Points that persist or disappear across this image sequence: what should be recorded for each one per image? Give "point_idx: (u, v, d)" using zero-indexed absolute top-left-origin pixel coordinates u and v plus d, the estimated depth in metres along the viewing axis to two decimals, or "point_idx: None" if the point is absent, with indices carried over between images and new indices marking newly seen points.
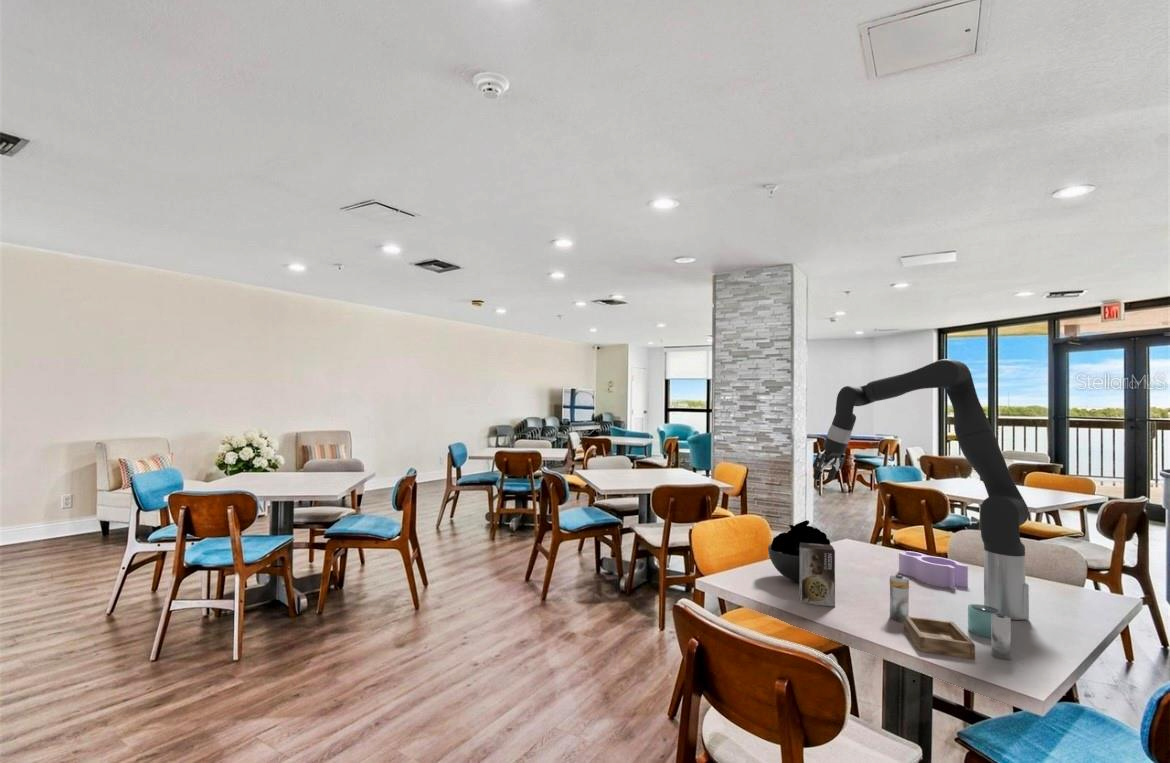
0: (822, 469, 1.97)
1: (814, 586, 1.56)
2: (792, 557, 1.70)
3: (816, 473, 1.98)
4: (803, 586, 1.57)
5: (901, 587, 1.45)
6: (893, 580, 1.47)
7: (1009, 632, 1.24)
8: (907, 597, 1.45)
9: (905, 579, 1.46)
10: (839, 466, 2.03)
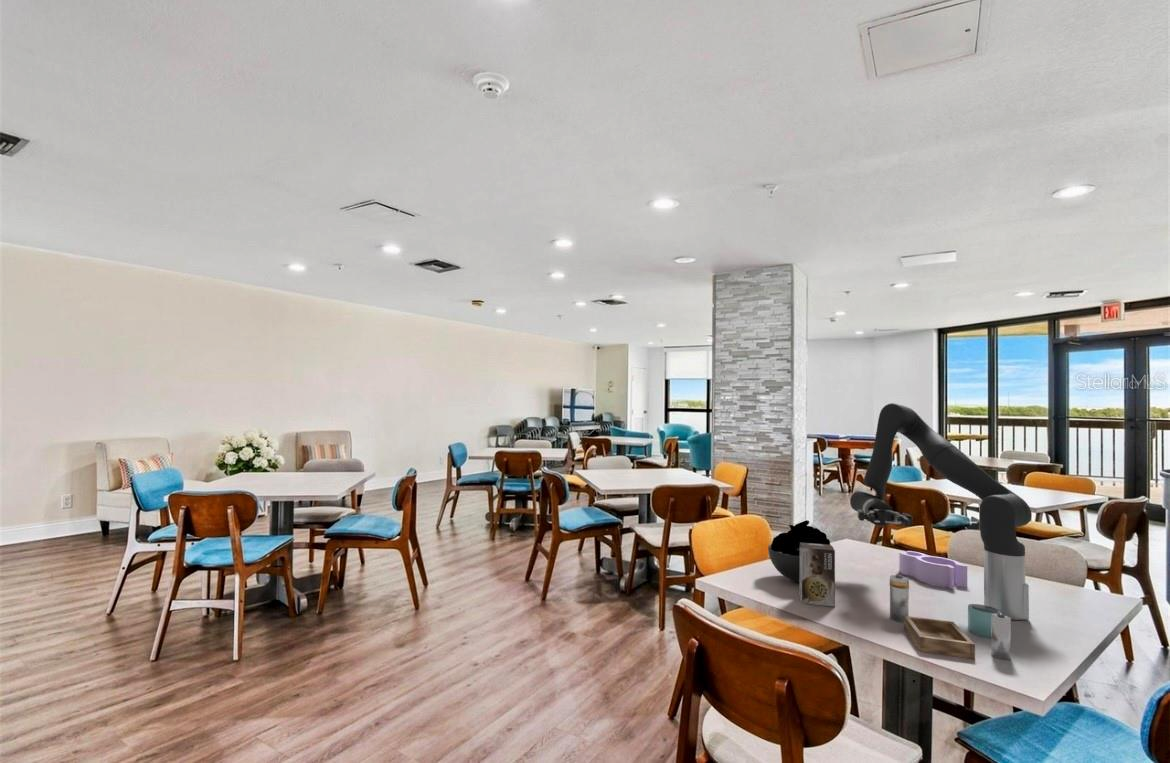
0: (868, 512, 1.65)
1: (814, 586, 1.56)
2: (792, 557, 1.70)
3: (867, 518, 1.63)
4: (803, 586, 1.57)
5: (901, 587, 1.45)
6: (893, 580, 1.47)
7: (1009, 632, 1.24)
8: (907, 597, 1.45)
9: (905, 579, 1.46)
10: (907, 516, 1.62)
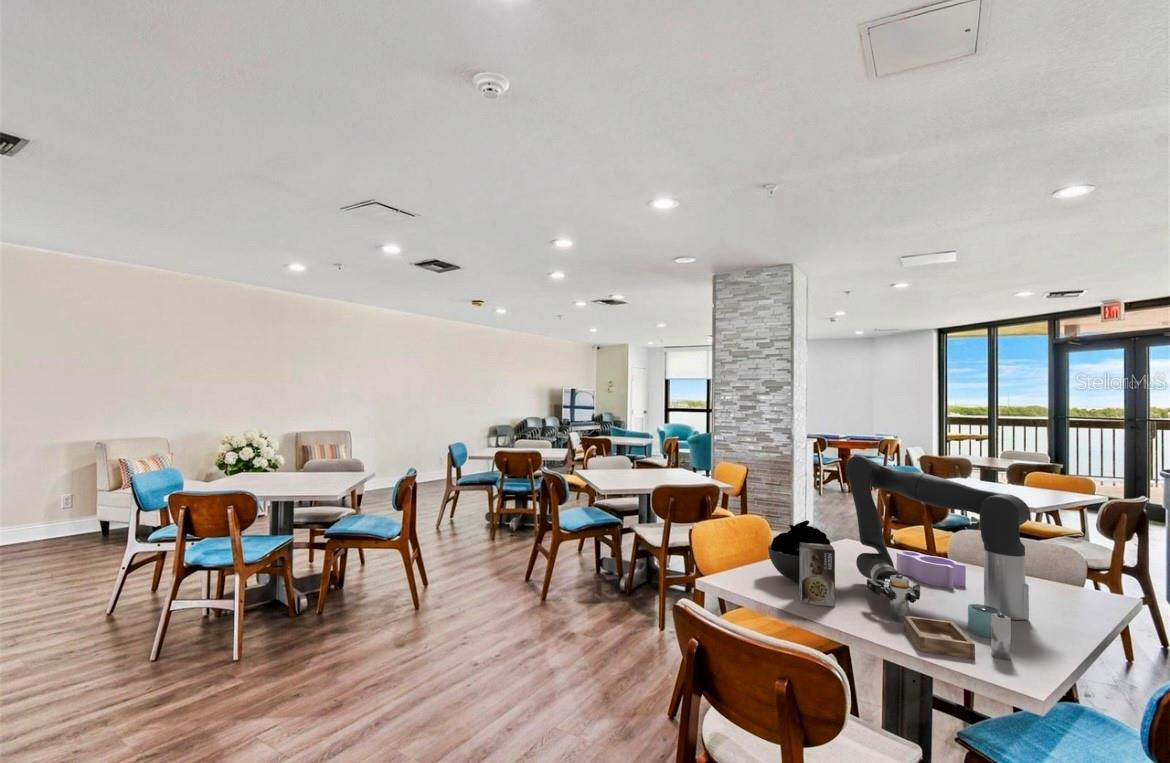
0: (885, 586, 1.50)
1: (814, 586, 1.56)
2: (792, 557, 1.70)
3: (885, 593, 1.48)
4: (803, 586, 1.57)
5: (901, 587, 1.45)
6: (893, 580, 1.47)
7: (1009, 632, 1.24)
8: (907, 597, 1.45)
9: (905, 579, 1.46)
10: (914, 590, 1.49)
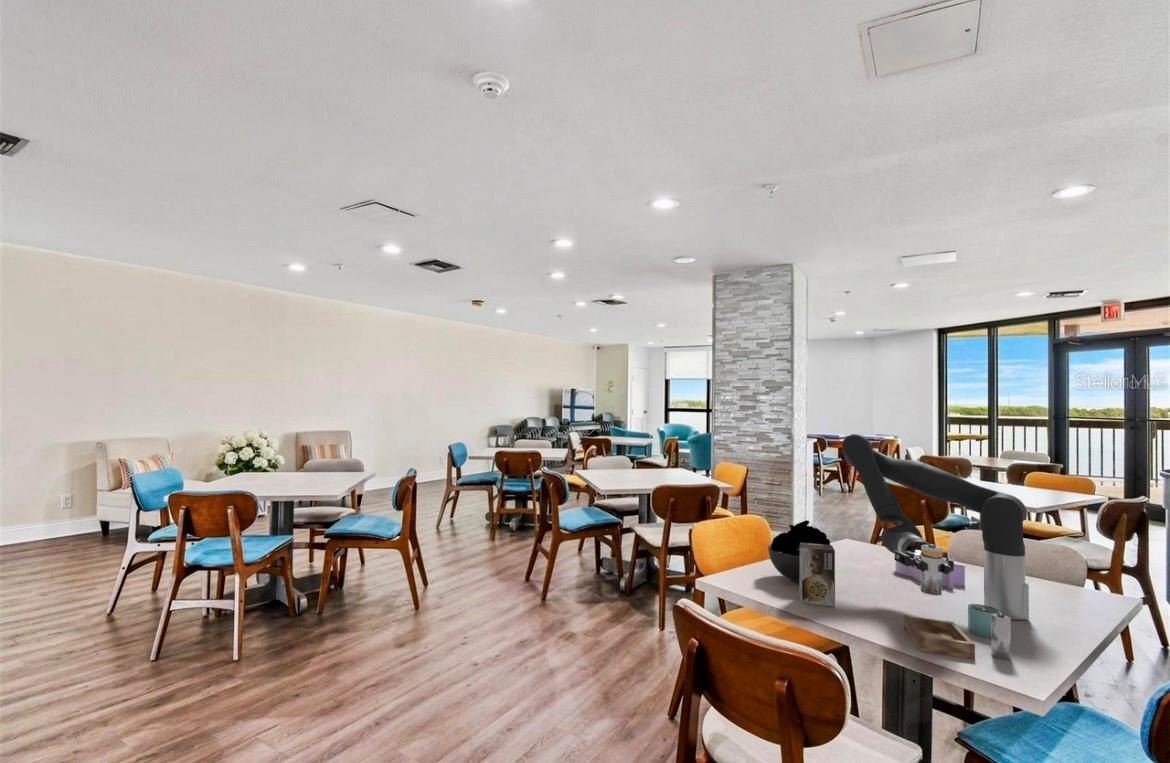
0: (915, 556, 1.37)
1: (814, 586, 1.56)
2: (792, 557, 1.70)
3: (915, 564, 1.35)
4: (803, 586, 1.57)
5: (934, 557, 1.32)
6: (925, 549, 1.34)
7: (1009, 632, 1.24)
8: (940, 568, 1.33)
9: (938, 548, 1.33)
10: (947, 561, 1.36)
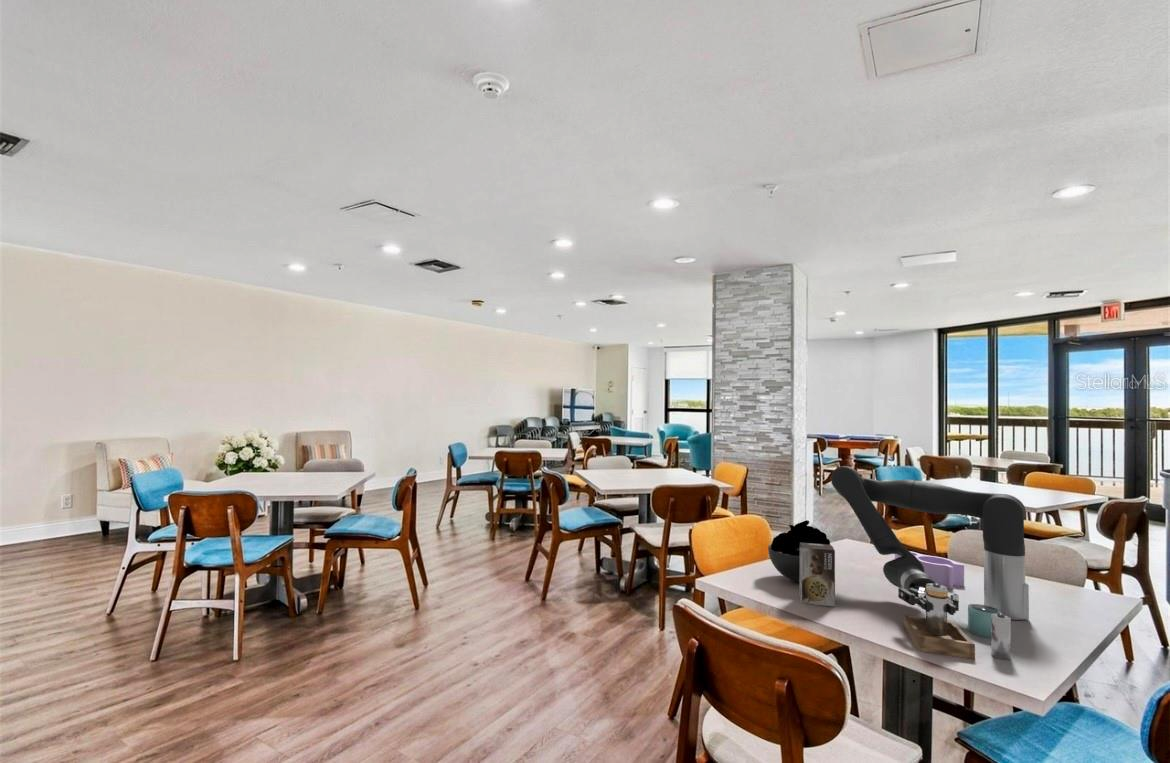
0: (920, 595, 1.35)
1: (814, 586, 1.56)
2: (792, 557, 1.70)
3: (920, 603, 1.33)
4: (803, 586, 1.57)
5: (939, 597, 1.31)
6: (930, 589, 1.32)
7: (1009, 632, 1.24)
8: (946, 608, 1.31)
9: (943, 588, 1.31)
10: (952, 600, 1.34)
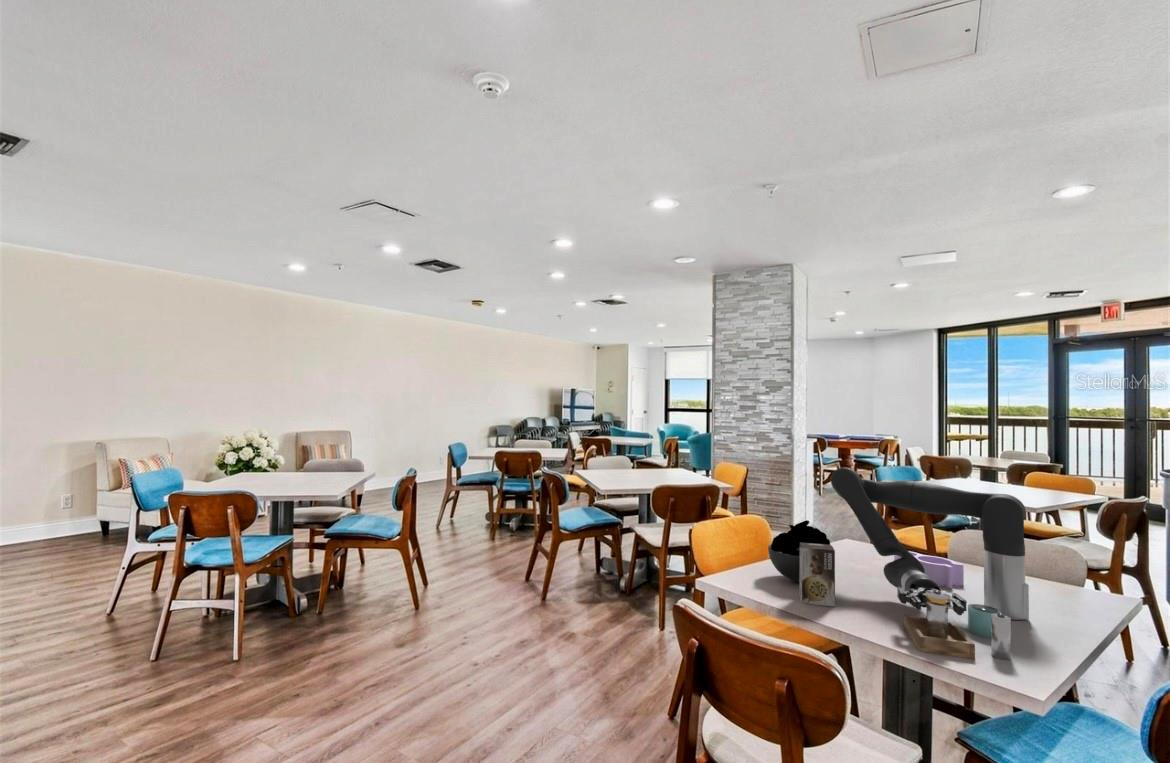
0: (911, 594, 1.37)
1: (814, 586, 1.56)
2: (792, 557, 1.70)
3: (911, 602, 1.35)
4: (803, 586, 1.57)
5: (940, 604, 1.30)
6: (930, 596, 1.32)
7: (1009, 632, 1.24)
8: (946, 615, 1.31)
9: (944, 595, 1.31)
10: (959, 600, 1.34)
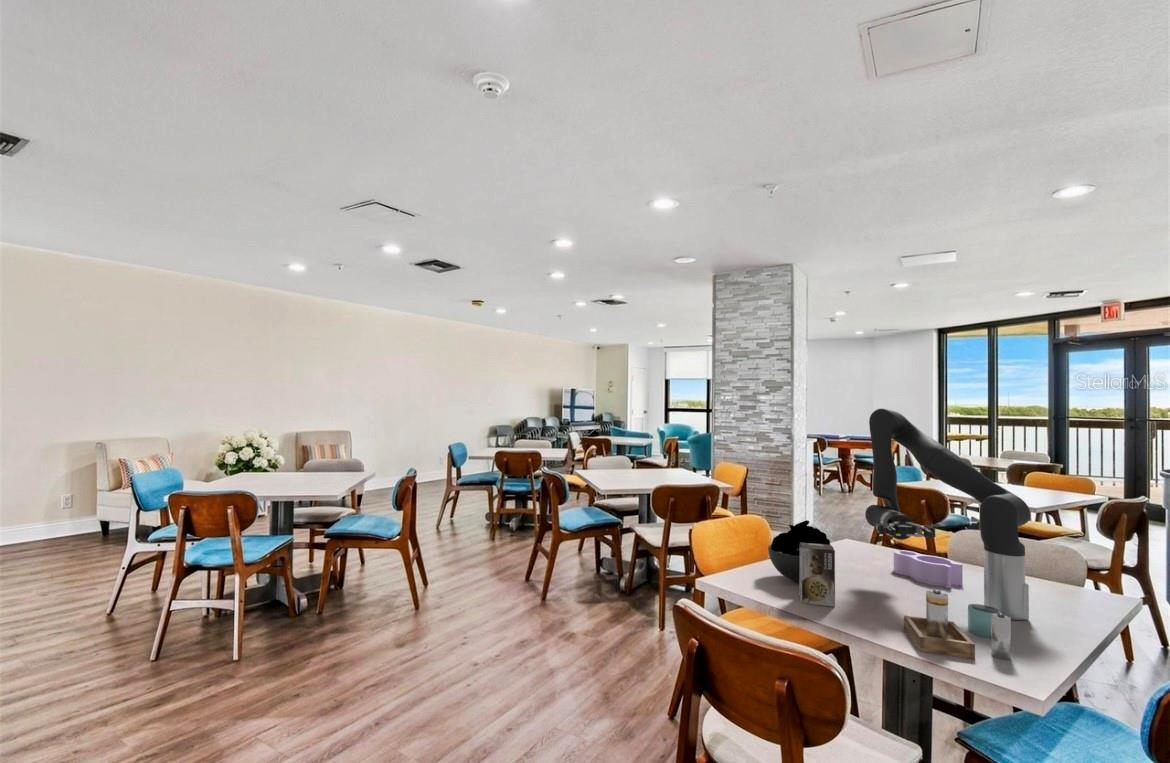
0: (888, 525, 1.56)
1: (814, 586, 1.56)
2: (792, 557, 1.70)
3: (888, 531, 1.54)
4: (803, 586, 1.57)
5: (940, 604, 1.30)
6: (930, 596, 1.32)
7: (1009, 632, 1.24)
8: (946, 615, 1.31)
9: (944, 595, 1.31)
10: (929, 528, 1.54)
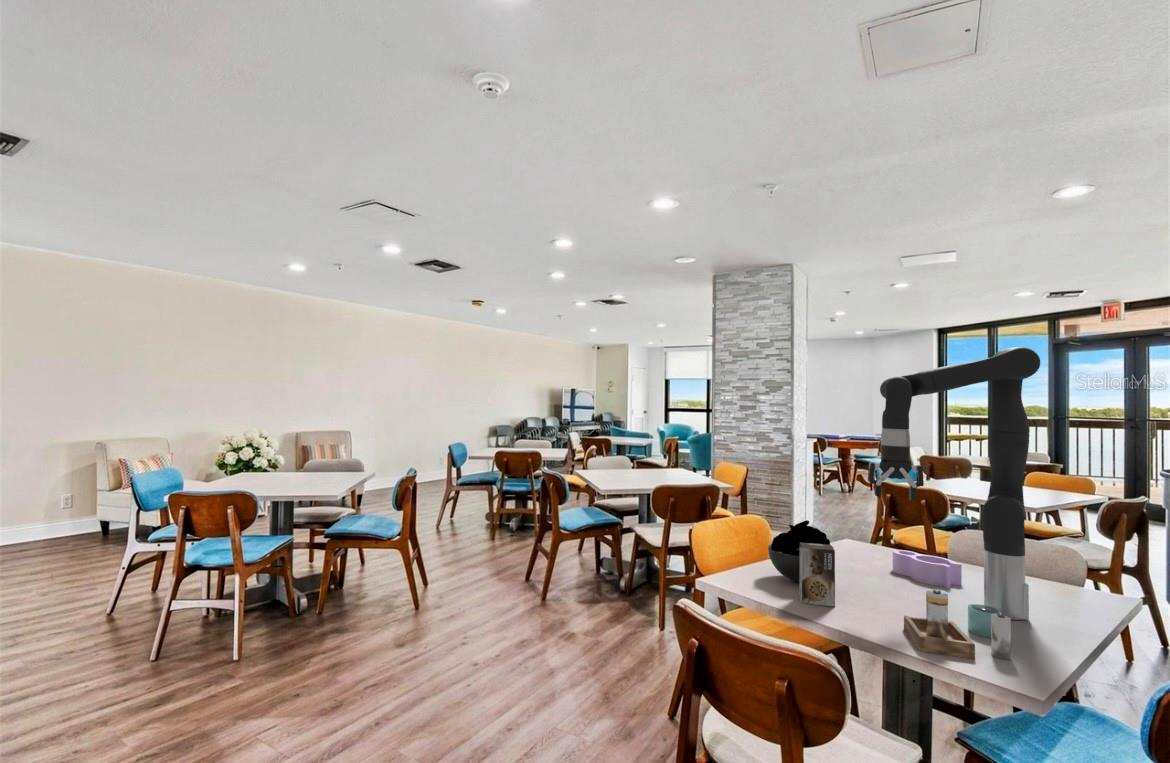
0: (878, 482, 1.61)
1: (814, 586, 1.56)
2: (792, 557, 1.70)
3: (875, 489, 1.63)
4: (803, 586, 1.57)
5: (940, 604, 1.30)
6: (930, 596, 1.32)
7: (1009, 632, 1.24)
8: (946, 615, 1.31)
9: (944, 595, 1.31)
10: (918, 482, 1.59)
